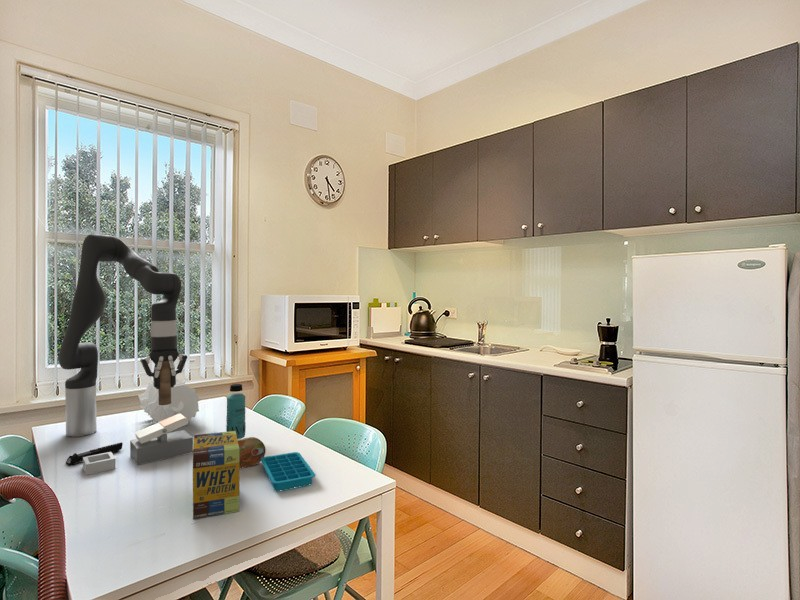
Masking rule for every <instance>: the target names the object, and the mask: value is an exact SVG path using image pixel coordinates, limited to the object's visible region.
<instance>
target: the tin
mask: <svg viewBox="0 0 800 600" xmlns="http://www.w3.org/2000/svg"><path fill="white" fill-rule="evenodd" d="M237 440H238V445H239V455H240V463H239V469H243V468H242V467H245V468H249V467H248V466H251V467H254V466H253V465H255V466H257V465H258V464H260V463H262V461H261V458H263V457H266V456H265V455H266V446H265V444H264V442H263V441H262V440H261V439H259V438H258V437H255V436H250V437H243V438H241V439H237Z"/></svg>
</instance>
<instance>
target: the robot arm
mask: <svg viewBox="0 0 800 600" xmlns="http://www.w3.org/2000/svg"><path fill="white" fill-rule="evenodd" d="M99 262H107V263H111V262H116V263H120V264H122V265H123V269H124V271H125V273H126V274H127V275H128V276H129V277H130V278H132V279H134V280H135V281H137V282H139V283H140V285H141V286H142V288H143V289H144V291H146V292H147V293H149V294H152V295H163V296H162V299H161V300H160V301H156V302H154V303H152V304H151V307H150V308H151V309H150V312H151V314H150V316H151V320H150V321H151V324H150V353H149V355H148V356H146V357H142V358H140V359H139V360H140V363H141V365H142V368H143V369H144V371H145V374H146V376H148V377H152V378H153V382H154V387H155V388H156V389H160V378H159V373H160V370H161V366H162V362H163V361H169V364H170V369H171V387H174V385H175V384H176V380H177V377H176V376H177V375H178V374H181V373H182V372H183V369H184V367H185V364H186V362H187V360H188V356H187V355H185V354H181V353H179V350H178V325H177V314H176V313H177V310H176V308H177V306H178V305H177V304H178V301H179V298H180V295H181V290H182V280H181V278H180V276H179V275H178V274H176V273H175V272H161V271H159V269H158V267H157V266H156V265H154V264H153V263H151V262H149V261H147V260H146V259H145V258H142V257H141V256H139V255H138V254H137V253H136V252H135V251H134V250H133V249H132V248H130V246H128V245H127V244H126V243H125V242H124V240H122V239H121V238H119V237H117V236H115V235H110V234H109V235H108V234H97V233H91V234H88V235H87V236H86V237H84V239H83V242H82V245H81V255H80V264H79V272H78V273H79V274H78V278H77V284H76V287H75V292H74V295H73V299H72V305H71V309H70V310H71V311H70V315H69V319H68V324H67V327H66V331H65V334H64V338H63V340H62V343H61V346H60V350H59V352H58V363H59V366H60V367H61V369H64V370H75V369H76V370H77V369H80V370H79V371H78V373H76V374H75V375H73V376H71V377H69V378H67V379H66V380H65V382H64V386H65V387H64V389H65V391H64V392H65V395H64V397H65V435H66V437H82V436H88V435H91V434H93V433H96V432H97V380H98V365H99V350H98V347H97V345H96V344H95V343H94V342H91V341H88V342H87V341H86V342H81V340H82V338H83V337H84V335H85V334H86V333H87V331H88V330H90V328H91V327H92V326H93V325H94V324H95V323H96V322H97V321H98V320H99V319H100V318H101V317H102V314H103V311H104V308H105V303H106V299H107V297H106V293H105V290H104V289H103V286H102V284H101V283H100V280H99V278H98V275H97V274H98V273H97V272H98V271H97V269H98V265H99ZM177 359H178V363H177V366H176V367H175V361H176V360H177ZM150 360H151V361H152V362H153V364H154V367H153V372H152V370H151V368H150V366H149V364H150ZM153 382H152V383H153Z"/></svg>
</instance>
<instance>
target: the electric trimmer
mask: <svg viewBox="0 0 800 600" xmlns="http://www.w3.org/2000/svg"><path fill="white" fill-rule="evenodd" d="M123 444H124V443H123V442H117V443H114V444H113V443H112V444H109V445H105V446H102V447H101V446H100V447H98V448H94V449H90V450H89V451H84V452H80V453H76V452H75V453H73V454H72V455H69V456H68V457H67V459H66V460H65V465H66V466H69V467H71V466H75V464H78V463H81V462H82V463H83V457H87V456H92V455H97V454H102V453H107V452H112V454H113V453H115V452H118V451H121V450H122V449H123Z"/></svg>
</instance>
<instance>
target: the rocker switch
mask: <svg viewBox="0 0 800 600" xmlns="http://www.w3.org/2000/svg"><path fill="white" fill-rule="evenodd" d="M188 424H189V421H188V422H187V418H186V417H184V416H183V415H182V414H180V413H179V414H177V415H174V416H172V417H170V418H167V419H165V420H162V421H160V422H159V423H158V422H155V423H154V424H152V425H150V426H147V427H144V428H143V429H142V428H141V429H140V430H137V431H136V432H134V434H135V437H136V438H135V439H138V440H139V442H140V443H141V444H143V443H145V442H147V441H150V440H152V439H154V438H156V437H159V436H161V435H163V434H166V433H171V432H174V430H177V429H179V428H182V427H183V426H184V425H185V426H186V425H188Z"/></svg>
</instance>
